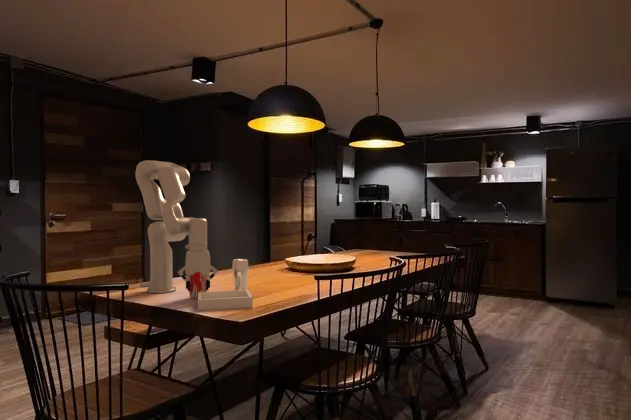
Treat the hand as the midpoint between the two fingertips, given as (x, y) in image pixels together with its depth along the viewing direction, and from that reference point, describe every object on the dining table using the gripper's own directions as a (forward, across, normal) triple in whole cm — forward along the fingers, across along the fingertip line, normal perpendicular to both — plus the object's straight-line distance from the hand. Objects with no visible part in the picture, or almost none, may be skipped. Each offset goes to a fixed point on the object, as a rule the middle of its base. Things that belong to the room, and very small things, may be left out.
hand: (198, 289), depth 189 cm
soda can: (+4, 0, 0) cm, 4 cm away
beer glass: (+4, +18, +4) cm, 19 cm away
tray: (+3, +10, -16) cm, 19 cm away
